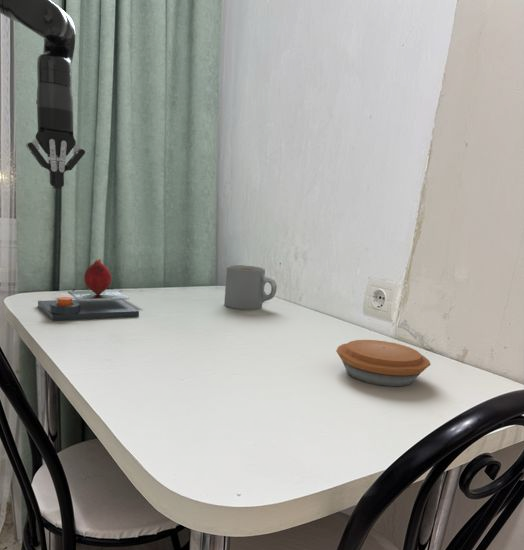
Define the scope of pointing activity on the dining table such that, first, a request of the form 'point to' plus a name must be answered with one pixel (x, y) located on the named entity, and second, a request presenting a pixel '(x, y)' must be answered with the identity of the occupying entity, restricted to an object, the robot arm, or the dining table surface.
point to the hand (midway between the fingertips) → (57, 188)
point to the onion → (98, 277)
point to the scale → (87, 310)
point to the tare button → (64, 301)
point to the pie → (382, 362)
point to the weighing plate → (97, 295)
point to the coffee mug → (247, 287)
